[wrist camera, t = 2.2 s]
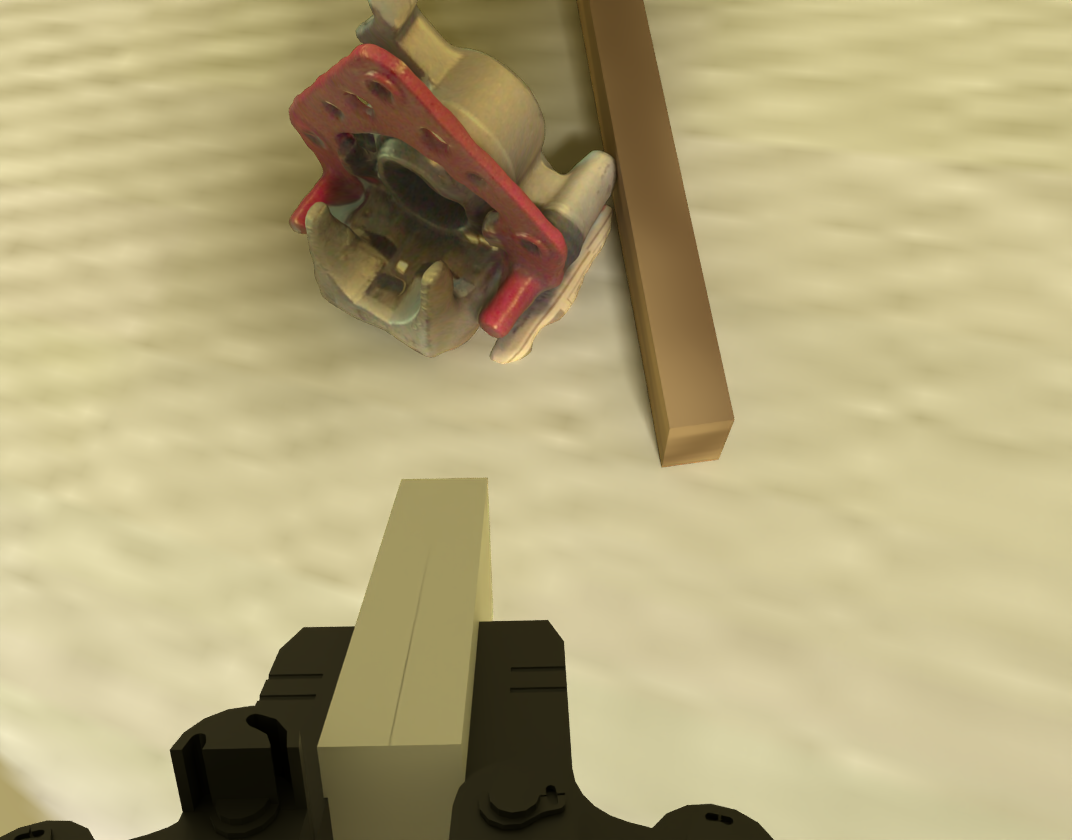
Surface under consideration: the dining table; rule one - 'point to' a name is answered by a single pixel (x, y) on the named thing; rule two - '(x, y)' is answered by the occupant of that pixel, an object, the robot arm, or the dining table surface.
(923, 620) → the dining table surface
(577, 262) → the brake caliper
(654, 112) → the brown wooden bar frame
